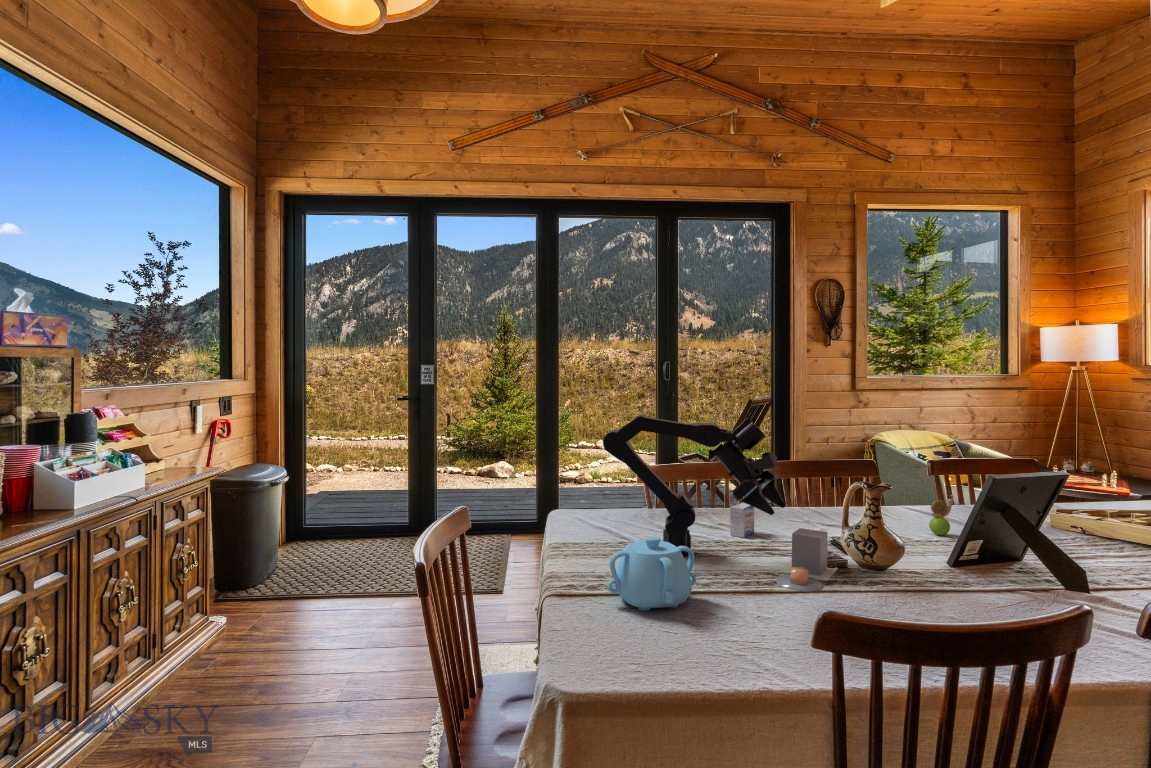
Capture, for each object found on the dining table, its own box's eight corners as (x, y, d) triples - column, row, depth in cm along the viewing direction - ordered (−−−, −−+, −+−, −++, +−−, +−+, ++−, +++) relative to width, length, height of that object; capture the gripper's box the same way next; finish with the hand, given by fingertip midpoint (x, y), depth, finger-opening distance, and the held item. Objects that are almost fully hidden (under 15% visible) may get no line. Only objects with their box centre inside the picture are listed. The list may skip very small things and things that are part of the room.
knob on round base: (796, 595, 139) (796, 579, 139) (766, 580, 148) (767, 565, 148) (832, 589, 142) (832, 573, 142) (801, 575, 152) (801, 560, 152)
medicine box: (744, 538, 184) (744, 508, 184) (729, 535, 187) (729, 506, 186) (754, 532, 190) (754, 503, 190) (740, 530, 193) (740, 501, 193)
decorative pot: (668, 623, 124) (669, 554, 123) (599, 604, 133) (599, 539, 133) (703, 598, 137) (704, 535, 136) (638, 582, 146) (639, 524, 146)
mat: (779, 573, 154) (779, 571, 154) (792, 561, 163) (792, 559, 163) (827, 582, 147) (827, 580, 147) (838, 569, 156) (838, 568, 156)
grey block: (791, 570, 154) (792, 533, 154) (799, 563, 160) (799, 528, 159) (819, 576, 150) (820, 538, 150) (826, 568, 156) (827, 532, 155)
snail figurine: (957, 537, 186) (958, 496, 185) (935, 537, 186) (936, 496, 186) (946, 532, 191) (947, 493, 191) (925, 532, 191) (926, 492, 191)
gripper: (745, 446, 154) (791, 496, 148) (769, 438, 169) (812, 483, 163) (714, 475, 159) (758, 525, 153) (740, 465, 174) (781, 510, 168)
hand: (779, 510), depth 159 cm, fingers open, 9 cm apart
